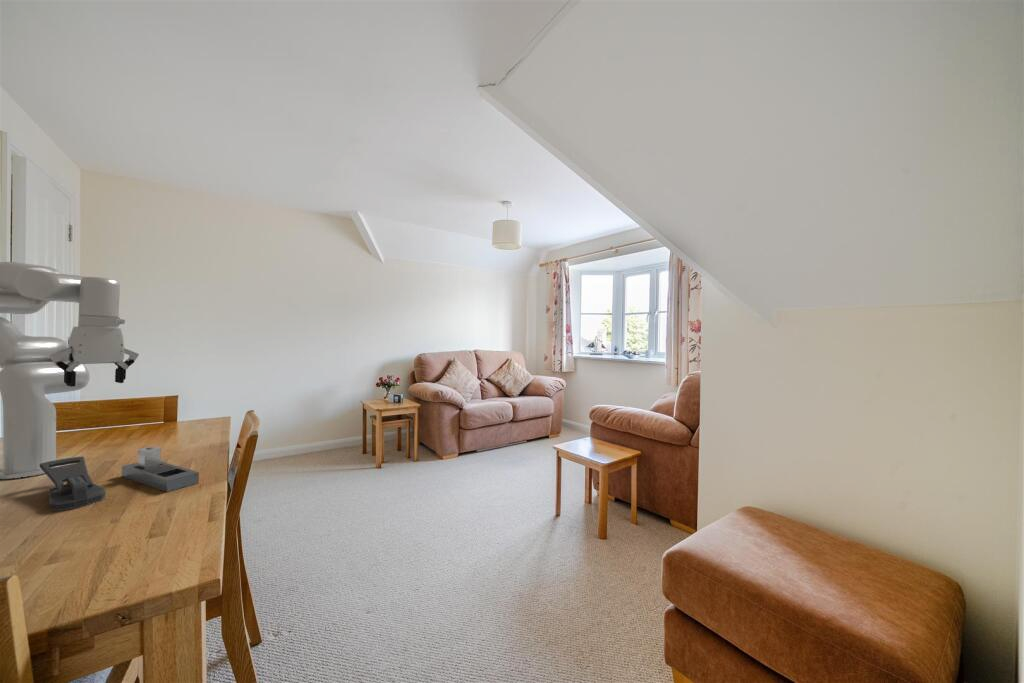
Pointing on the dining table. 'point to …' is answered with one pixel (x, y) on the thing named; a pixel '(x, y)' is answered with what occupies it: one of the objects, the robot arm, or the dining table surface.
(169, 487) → the rail
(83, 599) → the dining table surface
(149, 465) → the grey tall square block
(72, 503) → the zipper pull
